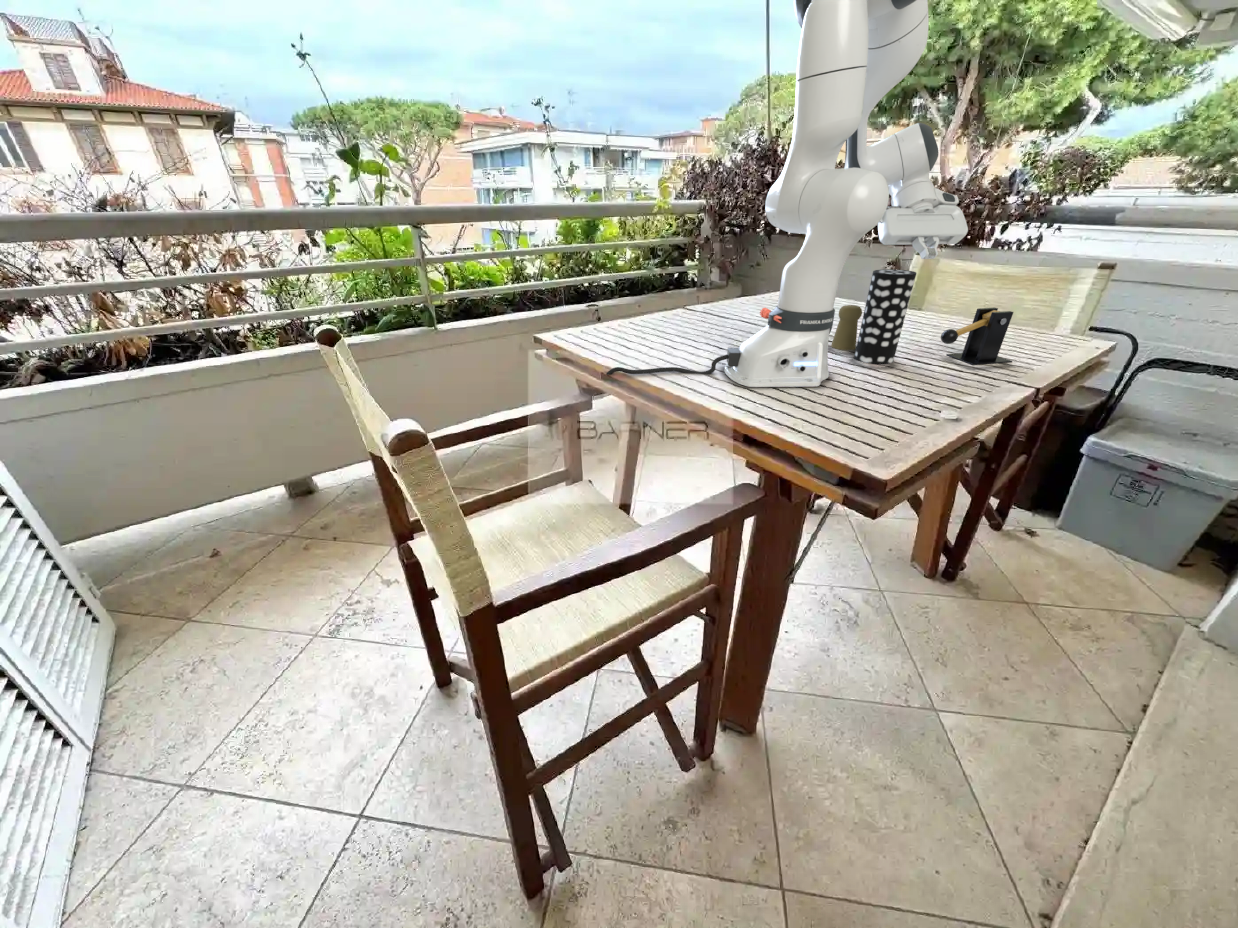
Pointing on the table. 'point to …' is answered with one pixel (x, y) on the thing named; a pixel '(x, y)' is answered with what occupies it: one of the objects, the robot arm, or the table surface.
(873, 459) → the table surface
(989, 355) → the bracket
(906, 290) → the white-spotted black cylinder
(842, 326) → the cork
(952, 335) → the latch lever
